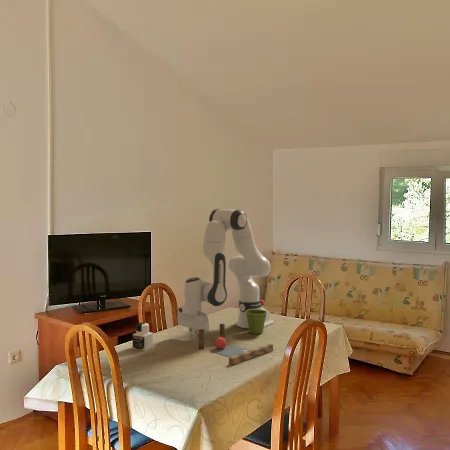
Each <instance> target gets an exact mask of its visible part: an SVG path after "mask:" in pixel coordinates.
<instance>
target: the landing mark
mask: <svg viewBox="0 0 450 450" xmlns="http://www.w3.org/2000/svg"><path fill="white" fill-rule="evenodd" d="M242 350H243V351H242ZM244 350H248V351H250V350H251V349H249V348H246V347H241V346H238V345H235V344H230V345H226V346H225V348H223V349H218V348H216V349H214V350H211V352H212V353H215V354H218V355H221V356H224V357H228V358H229V357H232V356H235V355H238V354H241V353H244ZM246 352H247V351H246Z"/></svg>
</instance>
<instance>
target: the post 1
mask: <svg viewBox="0 0 450 450" xmlns="http://www.w3.org/2000/svg"><path fill="white" fill-rule="evenodd" d="M204 349H205V332H204V330H203V329H199V331H198V350H204Z"/></svg>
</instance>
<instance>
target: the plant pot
mask: <svg viewBox="0 0 450 450" xmlns="http://www.w3.org/2000/svg"><path fill="white" fill-rule="evenodd" d="M265 310H266V309H265ZM265 310H260V309H251V310H247V311H245V312H246V315H247V319H248V326H249V328H248V331H249V333H250V334H253V335H258V334H262V333H263V334H264V329H265V327H264V323H265V318H266V314H267V311H268V310H266V311H265Z"/></svg>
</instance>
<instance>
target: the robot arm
mask: <svg viewBox="0 0 450 450" xmlns="http://www.w3.org/2000/svg"><path fill="white" fill-rule="evenodd" d="M206 224H207V225H206V227H205V232H204V235H203V242H202V252H203V254H204V256H205V258H206V259H207V260H208V261H209V262H210V263H211V265H212V271H213V272H212V283H211V282H208V281H206V280H205V281H204V280H203V279H201V278H200V277H197V276H195V277H189V278H187V279H186V280H185V283H184V288H183V289H184V290H183V297H184V303H183V306H181V307H178V308H177V323H178V326H180V327H181V326H182V327H184V328H187V330H188V333H189V337H190V338H194V339H195V338H197V334H198V333H199V329H203V330H204V333H205V332H208V331H209V330H210V323H209V317H208V315H207V314H206V312H203V307H202V304H203V302H206V303H209V304H210V305H212V306H213V307H220V306H222V305H224V303H225V302H226V301H227V299H228V292H227V286H226V271H227V270H226V269H227V268H226V267H227V263H226V256H225V245H226V233H227V231H229V230H230V231H231V236H232V240H233V243H234V249H235V250H236V252H238V253H239V254H240V255H235V256H232V257H231V258H230V260H229V261H228V269H229V271H230V272H231V273H232V274H233V276H234V277H235V279H236V281H237V284H238V288H239V289H238V290H239V292H238V293H239V300H238V307H239V308H238V313H237V320H236V326H237V327H240V328H242V329H243V328H244V329H249V326H248V319H247V315H246V312H245V311H247V310H251V309H260V310H265V311H267V314H266V318H265V323H264V328H266V327H267V326H270V325H272V324H274V323H275V321H274V320H273V319H271V318H270V317H271V316H270V313H269V311H268V310H267V309H265V308H264V307H263V304H265V300H264V299H260V286H259V285H258V283H256V282H255V280H254V279H253V278H254V277H256V278H261V277H267V276H268V275H269V274H270V273H271V269H272V268H271V267H272V266H271V265H272V264H271V263H270V262H271V261H269V259H267V258H266V257H265V256H264V255H263V254H262V253H261V252H260V250H259V249H258V247H257V245H256V241H255V238H254V234H253V229H252V226H251V223H250V220H249V218H248V216H247V215H246V213H245V211H242V210H239V209H232V208H216V209H213V210H212V211H211V212H210V214H209V218H208V223H206Z"/></svg>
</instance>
